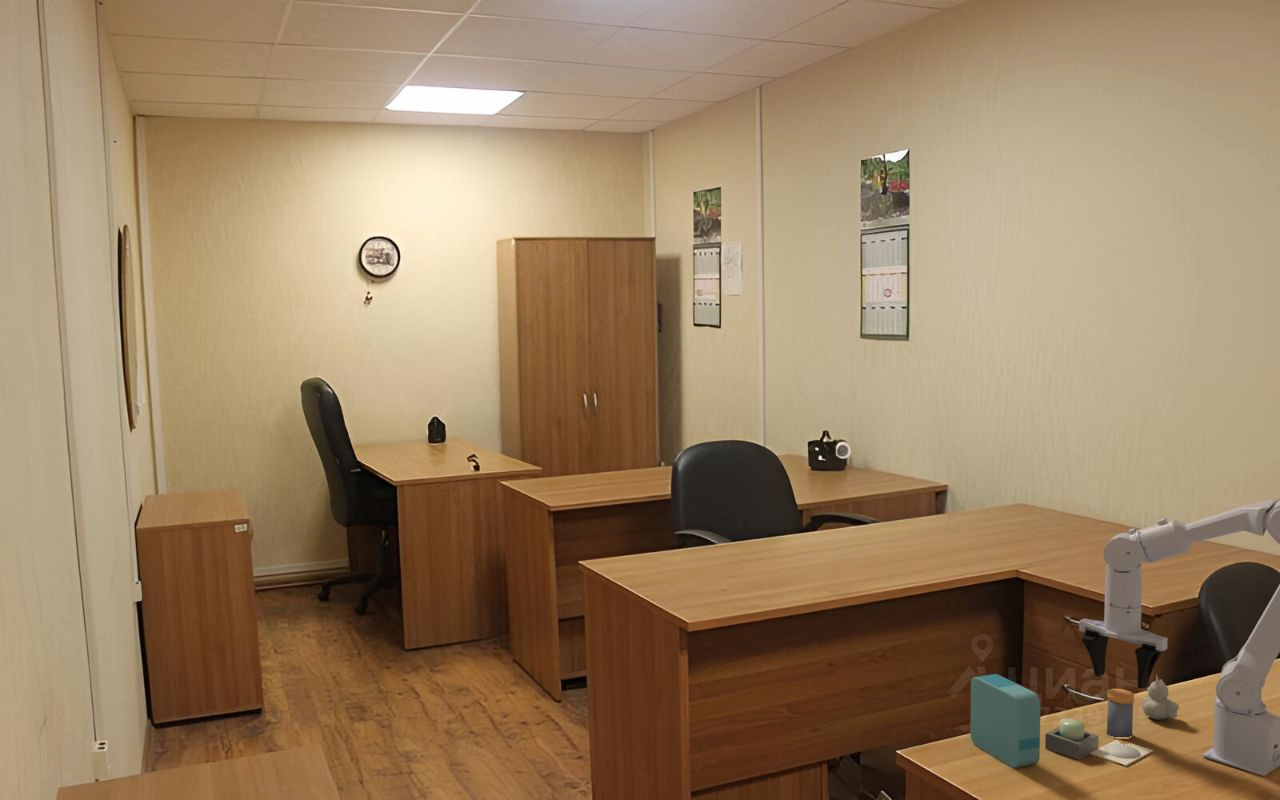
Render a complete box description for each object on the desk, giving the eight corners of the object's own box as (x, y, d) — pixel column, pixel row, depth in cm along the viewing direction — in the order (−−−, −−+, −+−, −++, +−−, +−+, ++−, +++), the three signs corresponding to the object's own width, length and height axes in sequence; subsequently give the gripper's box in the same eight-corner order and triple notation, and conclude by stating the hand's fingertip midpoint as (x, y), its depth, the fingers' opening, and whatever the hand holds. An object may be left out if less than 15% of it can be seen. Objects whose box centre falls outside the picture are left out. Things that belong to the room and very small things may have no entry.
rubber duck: (1152, 710, 188) (1154, 668, 188) (1186, 722, 183) (1188, 679, 182) (1134, 716, 186) (1135, 673, 185) (1167, 728, 180) (1169, 684, 179)
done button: (1088, 740, 171) (1089, 723, 171) (1076, 746, 169) (1076, 729, 169) (1067, 733, 174) (1067, 716, 174) (1055, 739, 172) (1055, 722, 172)
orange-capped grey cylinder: (1137, 735, 177) (1138, 693, 177) (1125, 742, 175) (1126, 699, 174) (1113, 728, 180) (1115, 687, 180) (1101, 734, 178) (1102, 692, 177)
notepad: (1152, 752, 170) (1153, 749, 170) (1125, 766, 165) (1125, 764, 165) (1117, 740, 175) (1117, 738, 175) (1090, 754, 170) (1090, 752, 170)
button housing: (1098, 750, 171) (1098, 735, 171) (1079, 760, 168) (1079, 744, 167) (1064, 739, 176) (1064, 724, 176) (1045, 748, 172) (1045, 733, 172)
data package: (1040, 767, 165) (1041, 694, 164) (1017, 771, 164) (1018, 698, 163) (991, 738, 177) (992, 671, 176) (969, 742, 175) (970, 674, 174)
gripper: (1070, 599, 179) (1068, 674, 180) (1153, 617, 168) (1151, 698, 169) (1091, 592, 183) (1090, 666, 184) (1174, 609, 172) (1171, 688, 173)
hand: (1120, 680), depth 177 cm, fingers open, 7 cm apart
